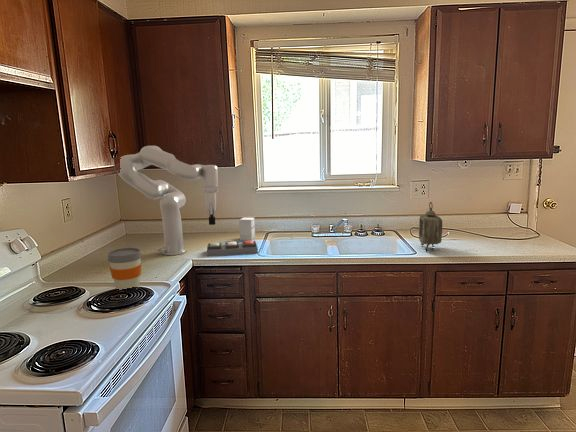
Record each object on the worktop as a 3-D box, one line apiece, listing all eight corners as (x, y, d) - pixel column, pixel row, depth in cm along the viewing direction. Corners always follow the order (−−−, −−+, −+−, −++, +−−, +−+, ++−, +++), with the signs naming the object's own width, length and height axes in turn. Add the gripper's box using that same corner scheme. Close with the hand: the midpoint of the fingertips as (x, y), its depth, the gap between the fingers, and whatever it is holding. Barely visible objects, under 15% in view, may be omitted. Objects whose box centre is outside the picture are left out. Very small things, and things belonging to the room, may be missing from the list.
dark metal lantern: (418, 245, 221) (420, 199, 216) (435, 245, 219) (438, 199, 215) (422, 252, 207) (425, 204, 202) (441, 253, 205) (444, 204, 201)
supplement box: (251, 241, 236) (251, 219, 234) (239, 240, 238) (238, 219, 235) (255, 238, 243) (254, 217, 241) (243, 237, 245) (242, 217, 243)
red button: (244, 246, 213) (244, 243, 212) (244, 244, 217) (244, 240, 217) (254, 246, 213) (254, 242, 213) (253, 243, 218) (253, 240, 218)
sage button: (209, 249, 210) (209, 245, 209) (210, 246, 215) (209, 242, 214) (219, 248, 210) (219, 244, 210) (219, 245, 215) (219, 242, 215)
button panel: (207, 256, 208) (206, 247, 207) (207, 250, 217) (207, 242, 216) (257, 252, 212) (257, 244, 211) (256, 247, 221) (255, 239, 221)
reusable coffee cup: (133, 293, 159) (130, 256, 156) (104, 292, 161) (100, 255, 158) (149, 282, 171) (146, 248, 168) (122, 281, 173) (119, 247, 171)
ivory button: (227, 248, 211) (227, 244, 211) (227, 245, 216) (227, 241, 216) (237, 247, 212) (236, 243, 212) (236, 244, 217) (236, 241, 216)
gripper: (204, 187, 214) (205, 221, 218) (202, 191, 200) (204, 227, 203) (218, 187, 215) (219, 221, 219) (218, 191, 201) (219, 227, 204)
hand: (212, 224), depth 211 cm, fingers closed
